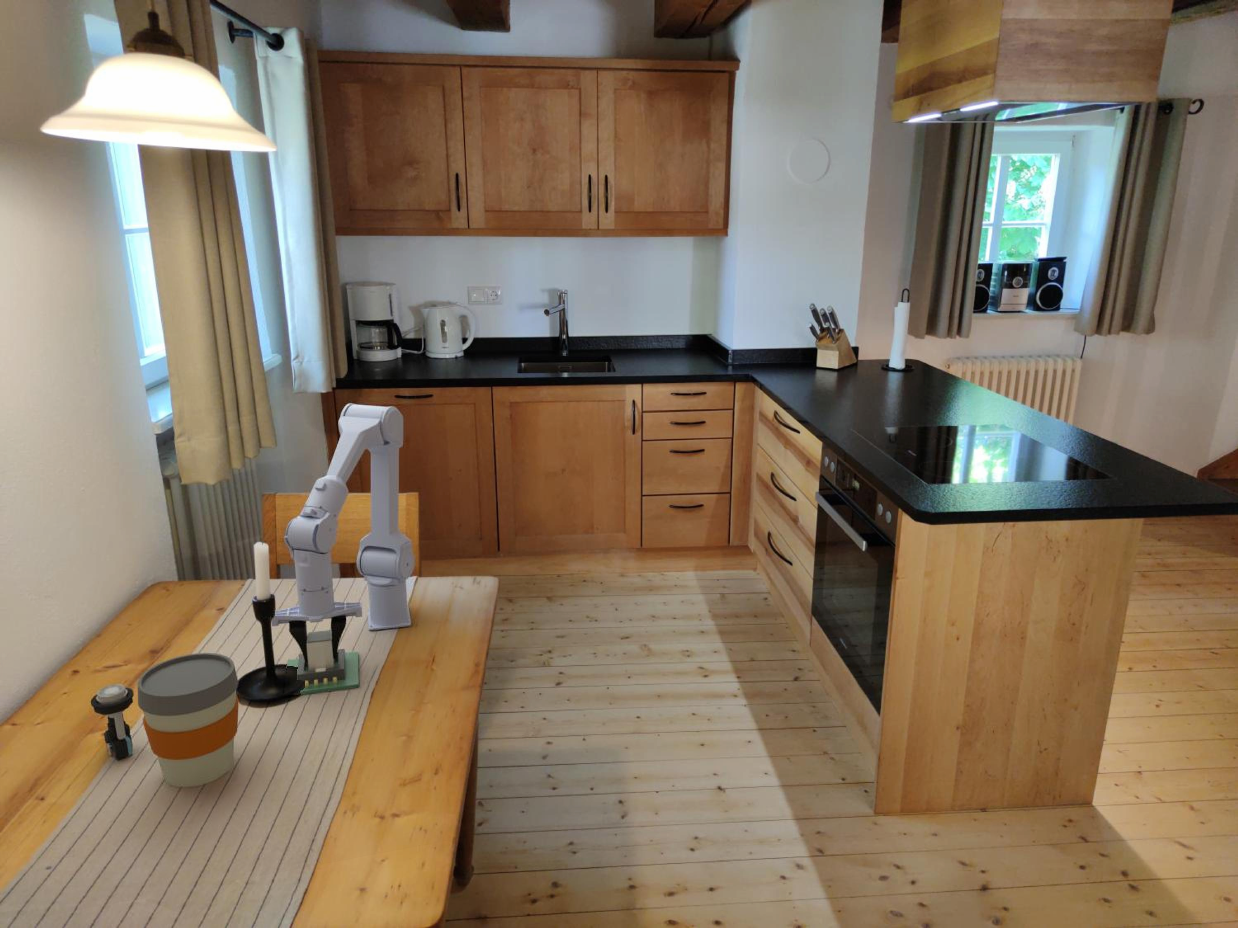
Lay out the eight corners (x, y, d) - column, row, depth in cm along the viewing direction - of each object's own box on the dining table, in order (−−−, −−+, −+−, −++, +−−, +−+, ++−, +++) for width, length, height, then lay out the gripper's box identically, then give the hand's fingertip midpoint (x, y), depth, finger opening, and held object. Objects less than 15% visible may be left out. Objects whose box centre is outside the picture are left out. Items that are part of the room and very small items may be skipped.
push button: (91, 747, 124) (81, 687, 122) (130, 732, 128) (121, 674, 125) (107, 766, 120) (96, 704, 117) (147, 750, 124) (138, 690, 121)
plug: (310, 664, 147) (307, 632, 145) (334, 661, 148) (331, 629, 146) (309, 676, 143) (306, 643, 141) (333, 673, 144) (331, 640, 142)
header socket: (288, 662, 150) (286, 648, 149) (358, 654, 153) (357, 640, 152) (283, 697, 139) (281, 681, 138) (358, 687, 142) (357, 672, 141)
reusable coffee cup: (197, 804, 112) (184, 705, 108) (128, 782, 116) (113, 686, 113) (266, 753, 124) (256, 661, 120) (200, 734, 128) (188, 645, 124)
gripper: (266, 598, 136) (274, 674, 139) (360, 589, 140) (365, 663, 143) (270, 582, 142) (277, 654, 146) (359, 573, 146) (364, 644, 150)
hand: (321, 657), depth 145 cm, fingers closed on plug, 4 cm apart
